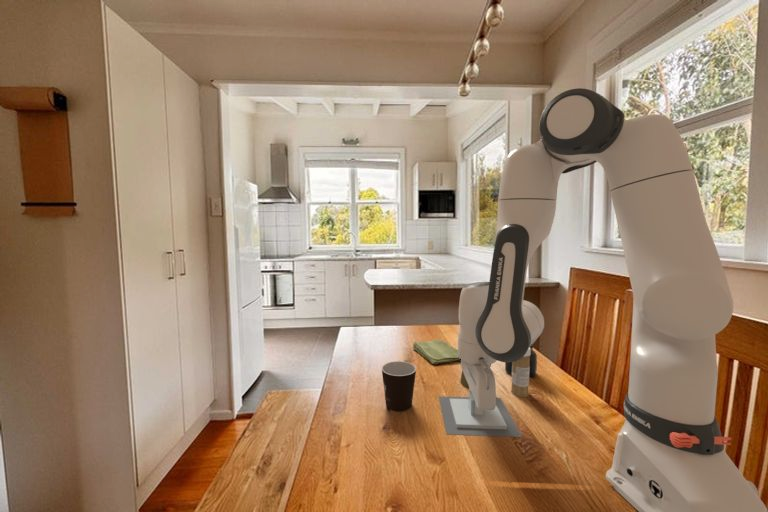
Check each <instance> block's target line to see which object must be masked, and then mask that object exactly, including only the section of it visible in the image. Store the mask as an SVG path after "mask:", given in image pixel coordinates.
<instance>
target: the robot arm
mask: <svg viewBox="0 0 768 512" xmlns="http://www.w3.org/2000/svg"><path fill="white" fill-rule="evenodd" d="M538 123H539V124H538V134H539V137H540V139H539V140H538V141H536V142H533V143H531V144H526V145H522V146H521V145H520V146H518V147H516V148H515V149H512V151H510V152H509V154H508V155H507V156H506V158H505V161H504V164H503V168H502V173H501V178H500V183H499V190H498V199H497V200H498V201H497V213H496V214H497V215H496V216H497V217H496V230H495V231H496V232H495V241H494V247H493V254H492V258H491V259H492V262H491V268H490V274H489V275H490V276H489V281H477V282H472V283H468V284H466V285H465V286H463V287H462V289H461V292H460V296H459V303H458V322H459V331H458V335H457V350H458V357H459V358H460V359H461V360H460V363H461V365H460V366H461V372H462V371H463V373H464V376H465V378H466V380H467V383H468V385H469V388H468V390H469V394H472V395H473V397H474V400H475V404H474V410H475V413H476V414H477V415H482V414H483V410H494V409H495V407H496V398H497V389H496V388H497V386H496V377H495V374H494V372H493V370H492V368H491V367H492V364H495V363H496V362H497V361H498V362H501V363H505V362H515V361H517V360H519V359H521V358H522V357H523V356H524V355H525V354H526V352H527V350H528V349H529V347H530V346H531V345H532V344H533V345H534V343H535V342H536V341H537V339H538V338H539V337H540V336H541V335H542V333H543V332H544V329H545V326H546V321H545V317H544V314H543V312H542V310H541V309H540V307H539V306H537V305H536V304H535V303H533V302H531V301H529V300H525V299H524V296H525V289H526V279H527V272H528V267H529V264H530V262H531V261H530V260H531V259H532V258H533V255H534V253H535V252H536V250H537V249H538V248H539V247H540V246H541V244H542V243H543V242H544V241H545V240H546V239H547V237H549V235H550V233H551V230H552V226H553V223H554V220H555V216H556V211H557V208H556V207H557V197H558V186H559V185H558V184H559V180H560V177H561V175H562V174H568V173H570V172H573V171H576V170H579V169H583V168H586V167H588V166H592V165H593V164H596V163H598V164H600V166H602V168H603V170H604V172H605V176H606V178H607V183H608V188H609V193H610V196H611V201H612V206H613V210H614V213H615V218H616V222H617V226H618V230H619V235H620V240H621V241H620V242H621V244H622V245H621V246H622V249H623V255H624V259H625V263H626V268H627V272H628V277H629V281H630V287H631V291H632V295H633V300H632V301H633V302H632V303H633V304H632V318H631V319H632V321H631V340H630V356H629V357H630V358H629V359H630V360H629V376H628V378H629V380H628V392H627V393H626V394H625V397H624V401H623V416H624V418H625V421H624V422H623V425H622V427H621V429H620V431H619V432H618V434H617V438H616V443H615V448H614V452H613V453H614V455H613V460H612V465H611V467H610V468H609V469H608V470H607V471H606V472H605V479H606V480H607V481H608V482H609V483H610V484H611V487H612V488H613V489H614V490H615V491H616V492H617V493H618V494H620V495H621V497H623V498H624V499H625V500H626V501H627V502H628V503H629V504H630V505H631V506H632V507H633V508H635V510H636V511H638V512H768V508H767V506H766V504H765V503H764V501H762V499H761V498H760V497H759V491H758V488H757V487H756V485H755V484H754V483H753V482H752V481H751V480H747V479H746V478H745V476H743V474H742V472H741V471H740V470H739V469H738V467H737V466H736V465H735V463H734V462H733V460H732V459H731V458H730V457H729V455H728V453H726V451H725V445H728V446H729V445H730V446H731V445H732V443H731V442H728V441H731V440H732V437H730V436H723V435H722V432H721V429H720V425H719V423H718V419H717V417H716V416H715V413H716V403H717V402H716V401H717V387H718V375H719V369H718V363H717V362H718V361H717V348H716V347H717V346H716V343H717V342H716V335H717V334H719V333H720V332H721V331H723V330H724V329H725V328H726V327H727V326H728V324H729V323H730V322H731V320H732V316H733V314H734V313H733V312H734V300H733V296H732V293H731V289H730V285H729V282H728V279H727V276H726V274H725V273H726V272H725V270H724V266H723V264H722V261H721V258H720V256H719V253H718V250H717V246H716V244H715V241H714V239H713V236H712V234H711V231H710V229H709V225H708V223H707V220H706V217H705V213H704V208H703V205H702V201H701V197H700V193H699V188H698V185H697V181H696V180H697V179H696V177H695V173H694V169H693V166H692V161H691V158H690V156H689V153H688V151H687V148H686V146H685V143H684V141H683V138H682V137H681V134H680V133H679V131H678V128H677V126H675V124H674V122H673V121H672V120H671V118H669V117H667V116H665V115H663V114H645V115H640V116H637V117H633V118H629V119H625V113H624V111H623V110H622V109H620V108H618V107H617V106H616V105H615V104H613V103H612V102H611V101H609V100H608V99H607V98H606V97H604V96H603V95H601V94H599V92H596V91H595V90H592V89H587V88H580V87H579V88H577V87H576V88H571V89H568V90H564V91H563V92H561V93H559V94H558V95H556V96H555V97H553V98H552V99H551V100H550V102H548V103H547V105H546V106H545V108H544V109H543V111H542V113H541V116H540V118H539V122H538Z"/></svg>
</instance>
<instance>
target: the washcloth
mask: <svg viewBox="0 0 768 512" xmlns="http://www.w3.org/2000/svg"><path fill="white" fill-rule="evenodd" d="M412 348H413V350H414V351H416V352H417V354H419V355H420V354H421V355H420V356H421V357H424V359H426V360H427V361H429V362H430V364H435V365H439V363H440V364H443V362H446V363H451V362H455V361H461V360H460V358H459V357H458V348H455V347H453V346H452V345H450V344H449V343H448V342H446V341H444V340H442V339H432V340H429V341H424V340H423V341H422V340H421V341H414V342H413V346H412Z"/></svg>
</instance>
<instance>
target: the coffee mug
mask: <svg viewBox="0 0 768 512" xmlns="http://www.w3.org/2000/svg"><path fill="white" fill-rule="evenodd" d="M416 373H417V366H415V365H414V364H413V363H411V362H407V361H401V360H397V361H396V360H394V361H389V362H387V363H384V364H383V365H382V366H381V374H382V382H383V391H384V400H385V407H386V409H387V411H388V412H391V411H393V412H398V413H399V412H405V411H408V410H410V409H411V408H412V406H413V398H414V397H413V396H414V391H415V383H416Z"/></svg>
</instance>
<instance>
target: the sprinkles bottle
mask: <svg viewBox="0 0 768 512" xmlns="http://www.w3.org/2000/svg"><path fill="white" fill-rule="evenodd" d="M530 355H531V348H530V347H529V349H528V350H527V352H526V354H525V355H524V356H523V357H522V358H521V359H519V360H517V361H515V362H512V375H511V390H510V393H511V394H512V395H513V396H515V397H518V398H526V397H527V398H528V397H529V396H530V395H529V386H530V378H529V371H530V366H529V363H530Z"/></svg>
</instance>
